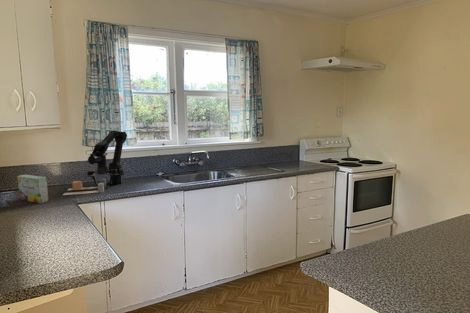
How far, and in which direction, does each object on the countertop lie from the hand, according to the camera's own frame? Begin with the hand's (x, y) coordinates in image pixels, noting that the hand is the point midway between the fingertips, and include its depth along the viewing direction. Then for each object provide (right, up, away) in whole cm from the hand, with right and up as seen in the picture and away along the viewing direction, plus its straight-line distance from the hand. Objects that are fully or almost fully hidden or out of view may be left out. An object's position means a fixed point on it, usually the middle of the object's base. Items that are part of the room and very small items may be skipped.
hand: (103, 184), depth 229 cm
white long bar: (-7, -5, -15) cm, 17 cm away
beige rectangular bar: (-10, -3, -2) cm, 11 cm away
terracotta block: (-16, -3, -4) cm, 17 cm away
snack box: (-30, -8, -29) cm, 43 cm away
